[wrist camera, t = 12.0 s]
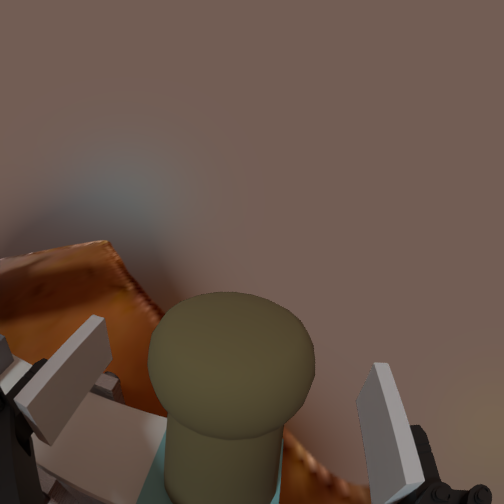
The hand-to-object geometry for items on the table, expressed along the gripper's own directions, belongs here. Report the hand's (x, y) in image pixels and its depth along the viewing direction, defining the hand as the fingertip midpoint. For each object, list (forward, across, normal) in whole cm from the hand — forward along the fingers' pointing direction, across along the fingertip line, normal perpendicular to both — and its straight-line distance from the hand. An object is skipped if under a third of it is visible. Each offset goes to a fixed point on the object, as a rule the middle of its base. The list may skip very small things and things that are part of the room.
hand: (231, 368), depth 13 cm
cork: (-3, 0, -6) cm, 7 cm away
